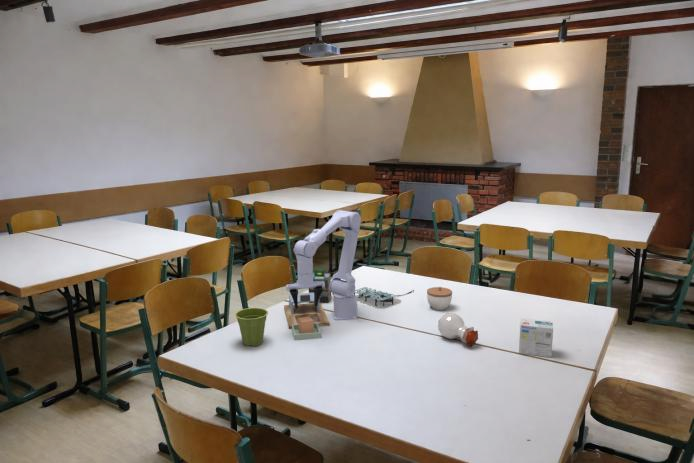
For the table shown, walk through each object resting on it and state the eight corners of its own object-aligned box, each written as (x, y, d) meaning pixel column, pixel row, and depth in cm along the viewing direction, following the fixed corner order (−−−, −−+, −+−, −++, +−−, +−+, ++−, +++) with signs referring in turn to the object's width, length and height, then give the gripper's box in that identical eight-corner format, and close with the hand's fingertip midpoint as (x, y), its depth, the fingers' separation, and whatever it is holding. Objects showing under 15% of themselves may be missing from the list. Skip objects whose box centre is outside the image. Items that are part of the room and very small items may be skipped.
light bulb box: (550, 350, 175) (553, 321, 173) (551, 358, 169) (554, 328, 166) (518, 345, 178) (520, 317, 176) (518, 353, 172) (520, 324, 170)
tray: (317, 327, 195) (317, 322, 194) (321, 338, 185) (321, 332, 185) (291, 330, 193) (291, 324, 192) (294, 340, 183) (294, 335, 183)
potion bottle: (441, 335, 191) (472, 354, 179) (428, 326, 184) (459, 345, 173) (453, 314, 192) (485, 331, 180) (441, 304, 185) (473, 321, 174)
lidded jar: (455, 306, 218) (456, 285, 216) (446, 314, 209) (446, 292, 207) (432, 302, 224) (432, 282, 222) (422, 309, 215) (423, 288, 213)
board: (320, 305, 219) (320, 302, 219) (329, 325, 197) (329, 322, 196) (284, 308, 216) (283, 305, 216) (289, 329, 194) (288, 325, 193)
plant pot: (275, 338, 185) (274, 310, 183) (256, 351, 174) (255, 321, 172) (249, 333, 190) (247, 305, 188) (229, 345, 179) (228, 316, 177)
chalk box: (331, 297, 231) (331, 266, 228) (328, 303, 222) (328, 271, 219) (311, 296, 232) (311, 265, 229) (308, 303, 223) (307, 271, 220)
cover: (315, 303, 217) (315, 287, 216) (319, 312, 207) (319, 294, 206) (289, 305, 215) (288, 288, 213) (291, 314, 205) (291, 296, 203)
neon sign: (423, 286, 233) (381, 301, 213) (423, 295, 234) (381, 311, 214) (389, 277, 248) (347, 290, 228) (389, 285, 249) (347, 299, 229)
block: (309, 329, 192) (309, 316, 191) (313, 334, 188) (313, 320, 187) (298, 331, 190) (298, 318, 189) (302, 336, 186) (302, 322, 185)
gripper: (321, 267, 193) (321, 300, 195) (284, 271, 188) (285, 305, 191) (326, 272, 186) (326, 306, 189) (288, 276, 182) (289, 311, 184)
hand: (306, 306), depth 189 cm, fingers open, 7 cm apart
